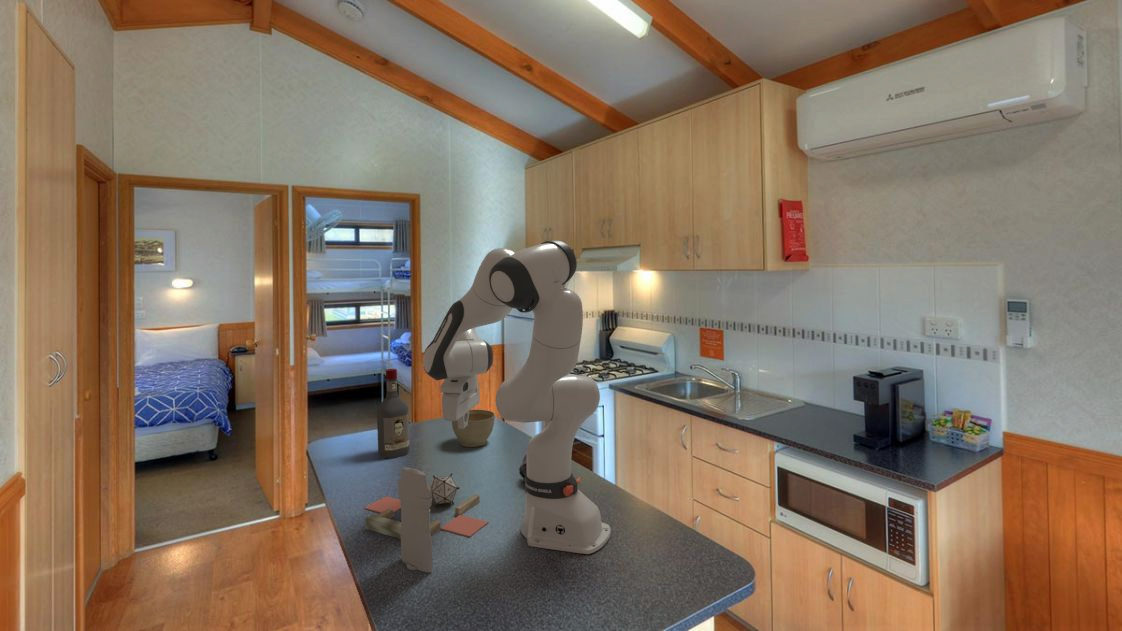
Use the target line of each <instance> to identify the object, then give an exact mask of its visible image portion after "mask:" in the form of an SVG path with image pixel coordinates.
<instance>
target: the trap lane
mask: <svg viewBox="0 0 1122 631" xmlns="http://www.w3.org/2000/svg"><path fill="white" fill-rule="evenodd" d="M428 486H429V488H430V489H431V486H432V484H430V485H428ZM479 503H481V502H480V495H479V494H474V495H472V496H470V497H469V498H467V499H466V500H464V501H462V502H461V503H459V505H457V506H455V507H454V514H455V516H459V515H463V514H465V513H466V512H467V511H469V510H470V509H472V508H473V507H475V506H476V505H479ZM394 517H395V516H394V513H393V509H390V508H389V509H387V510H385V511H383V512H382V513H378V514H371V513H370V514H369V515H368V516H365V530H369V531H372V532H375V533H378V534H381V535H382V534H383V535H385V536H388V537H389V536H390V537H393V538H396V539H399V540H401V524H402V522H401V521H398V520H395V519H392V518H394ZM440 528H441V521H440V520H434V521H432V522H430V534H431V537H432V536H433V535H434V533H435V534H436V533H437V532H439V531H440V530H441V529H440Z"/></svg>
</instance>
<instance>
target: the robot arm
mask: <svg viewBox="0 0 1122 631" xmlns="http://www.w3.org/2000/svg"><path fill="white" fill-rule="evenodd" d="M577 263H578V262H577V257H576V254H575V253H574V251H573V249H572V248H571V247H570V246H569V245H568V244H567V243H565V242H564V241H561V240H547V241H543V242H541V243H540V244H535V245H533V246H530V247H529V246H528V247H525V248H521V249H520V250H518V251H517V252H515V251H513V250H512V249H509V248H504V247H498V248H494V249H492V250H490V251H488V253H487V254H486V255H485V257H484V258H483V260H482V262H481V263H480V265H479V266H478V268H477V272H476V274H475V277H474V279H473V283H472V285H471V287H470V288H469V290H468V291H467V292H466V293H465V294H464V295H463V296H462V297H460V299H459V300H457V301H455V302H454V303H452V305H451V306H450V307H449V309H448V310H447V312H446V315H445V316H444V318H443V320H442V322H441V323H440V326H439V328H438V329H437V331H436V333H435V335H434V337H433V338H432V341H431V342H430V343H428V346H427V347H426V348H425V350H424V352H423V360H422V363H423V364H422V365H423V369H424V370H423V371H424V372H425V373H426V374H427V375H428V376H429V377H431V378H432V379H433V380H435V381H441V380H442V381H443V382H442V383H441V384H440V390H439V391H440V393H441V394H442V396H441V409H442V411H441V412H442V417H443V419H444V421H447V422H452V421H456V420H457V421H458V428H459V429H464V428H465V427H466V426H467V425H468V417H469V411H470V410H473V408H475V407H476V406H478V404H480V399H481V397H480V386H479V382H478V381H479V380H478V375H483V374H486V373H488V372H489V370H490V369H491V367H492V365H493V364H494V363H493V362H494V353H493V352H494V351H493V347H492V346H491V345H490V344H489V343H488V341H486V340H482V339H481V338H480V337H479V336H478V335H477V331H476V328H480V327H483V326H488V325H493V324H495V323H498V322H501V321H502V320H504V319H505V318H506V317H507V316H508V315H510V313H511V311H512V310H513V309H516V310H517V311H518V312H519V313H524V314H525V313H526V314H527V313H530V312H532V314H533V327H532V336H531V343H530V348H529V354H528V356H527V359H526V361H525V363H524V364H523V365H522V367H521V368H520V369H519V370H518V371H517V372H516V373H515V374H513V376H511V377H509V378H508V379H506V380H504V381H502V383H501V384H500V386H499V387H498V388H497V391H496V394H495V407H496V409H497V412H498V414H499V415H500V416H501V417H502V419H503V420H505V421H509V422H515V423H521V424H522V423H523V424H524V423H525V424H526V423H538V422H548V424H547V426H546V427H545V428H544V429H543V430H542V431H540V432H539V433H537V434H536V435H534V436H533V437H532V438H531V439H530V440H529V442H528V443H527V446H526V452H525V453H526V454H525V455H527V473H526V474H525V481H524V482H525V483H524V492H525V506H524V512H523V517H522V518H523V519H522V522H521V525H520V533H521V535H523V537H524V538H525V539H526V544H527V545H528V546H529V547H532V548H540V549H547V550H553V551H554V550H555V551H562V552H568V553H576V554H581V555H582V554H585V555H590V554H593V553H595V552H597V551H599V550H600V549H601V548H602V547H604V546H605V545H606V544H607V542H608V541H609V540H610V538H611V534H612V532H611V527H610V525H609V524H607V523H605V522H602V517H601V511H600V509H599V507H598V505H596V504H595V503H594V502H593V501H591V499H590V498H588V497H587V496H586V495H585V494H583V492H582V491H580V490H579V489H578V484H580V483H581V477H580V476H579V477H578V478H575V477H574V474H573V473H572V456H573V454H572V452H573V444H574V441H575V438H576V436H577V434H578V432H579V430H580V429H581V427H582V425H583V423H585V422H586V420H587V419H588V418H590V417H591V416H592V415H594V414H595V412H596V411H597V409H598V408H599V404H600V401H601V394H600V393H601V392H600V389H599V386H598V385H597V383H596V381H595V380H594V379H593V378H592V377H591V376H587V375H581V374H573V373H572V374H570V373H571V372H572V371H573V370H574V369H575V367H576V366H577V363H578V359H579V353H580V346H581V341H582V333H583V323H584V321H583V320H584V317H583V316H584V314H583V313H584V311H583V302H582V299H581V297H580V295H578V294H577V292H575V291H573V290H572V289H569V288H566V287H564V286H563V285H565V284H566V283H568V282H569V281H570V280H571V279H572V278H573V277H574V275H575V274H576V271H577V266H578V265H577Z"/></svg>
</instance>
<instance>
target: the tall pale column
mask: <svg viewBox="0 0 1122 631" xmlns="http://www.w3.org/2000/svg"><path fill="white" fill-rule="evenodd" d="M429 486H430V485H429V483H428V477H427V474H426V473H425V472H423V471H421V470H418V469H416V468H414V467H412V468H411V467H406V466H404V467H402V468H401V474H400V478H399V479H398V480H397V491H398V493H397V494H398V497H399V500H401V501H400V503H401V509H400V514H401V517H400V522H402V524H401V539H400V554H401V556H400V558H401V562H403V564H405V565H406V568H407V569H409V570H410V571H417V572H421V573H425V574H431V573H433V571H434V570H433V542H432V541H433V539H432V536H431V534H430V524H431V507H432V503H433V501H432V500H433V497H432V493H431V489H430V488H429Z"/></svg>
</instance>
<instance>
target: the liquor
mask: <svg viewBox="0 0 1122 631" xmlns="http://www.w3.org/2000/svg"><path fill="white" fill-rule="evenodd" d="M385 379H386V395H385V398H384V399H383V400H382V401H381V403H380V404H378V406H377V408H376V424H377V425H376V426H377V427H376V428H377V429H376V430H377V452H378V454H379V456H381V457H383V458H384V459H396V458H399V457H403V456H406V455H407V454H408V453H409V452H410V424H409V423H410V422H409V419H410V418H409V406H408V404H406V402H404V401H403V399H402V398H401V397H399V394H398V382H397V381H398V380H397V379H398V369H397V368H388V369H386V370H385Z"/></svg>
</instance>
